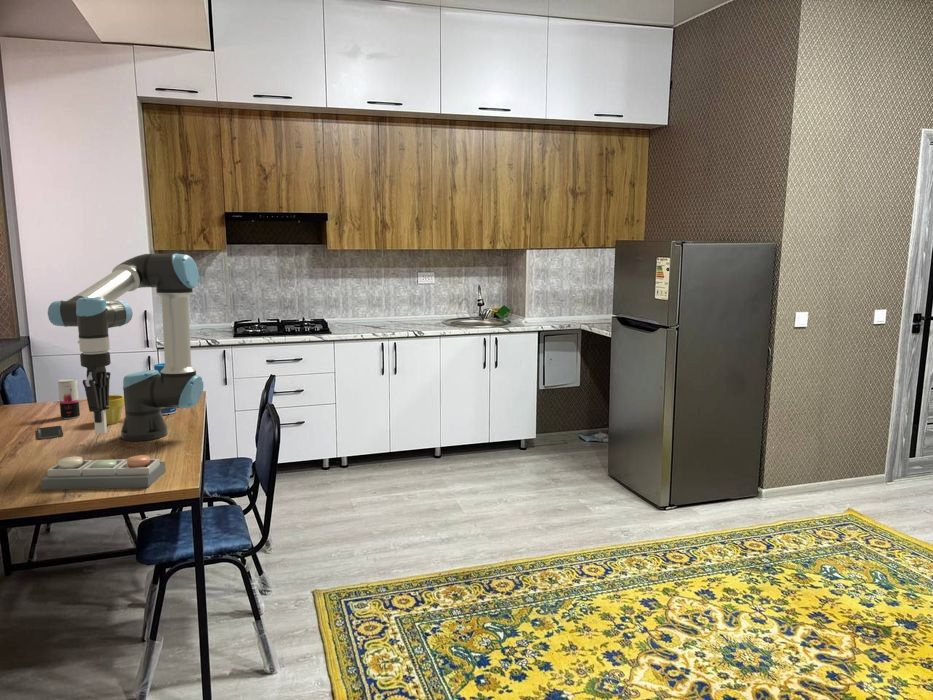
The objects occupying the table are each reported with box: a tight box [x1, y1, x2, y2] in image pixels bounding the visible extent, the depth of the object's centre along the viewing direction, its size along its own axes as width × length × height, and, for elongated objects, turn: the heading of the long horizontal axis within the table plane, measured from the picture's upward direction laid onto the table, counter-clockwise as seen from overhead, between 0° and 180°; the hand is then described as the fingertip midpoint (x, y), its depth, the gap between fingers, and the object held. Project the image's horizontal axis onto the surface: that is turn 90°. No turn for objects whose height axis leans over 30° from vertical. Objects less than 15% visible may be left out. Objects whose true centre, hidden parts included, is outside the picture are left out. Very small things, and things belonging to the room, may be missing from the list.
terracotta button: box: [126, 454, 151, 468], centre depth 203 cm, size 6×6×2 cm
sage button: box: [93, 459, 117, 468], centre depth 203 cm, size 6×6×2 cm
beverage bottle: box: [153, 362, 178, 416], centre depth 282 cm, size 8×8×20 cm
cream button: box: [58, 456, 83, 469], centre depth 202 cm, size 6×6×2 cm
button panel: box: [40, 458, 167, 491], centre depth 203 cm, size 14×29×5 cm, turn 95°
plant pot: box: [105, 394, 125, 425], centre depth 268 cm, size 10×10×10 cm
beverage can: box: [57, 377, 81, 420], centre depth 275 cm, size 7×7×15 cm
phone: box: [36, 425, 64, 441], centre depth 252 cm, size 8×1×15 cm
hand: (101, 432), depth 201 cm, fingers closed
